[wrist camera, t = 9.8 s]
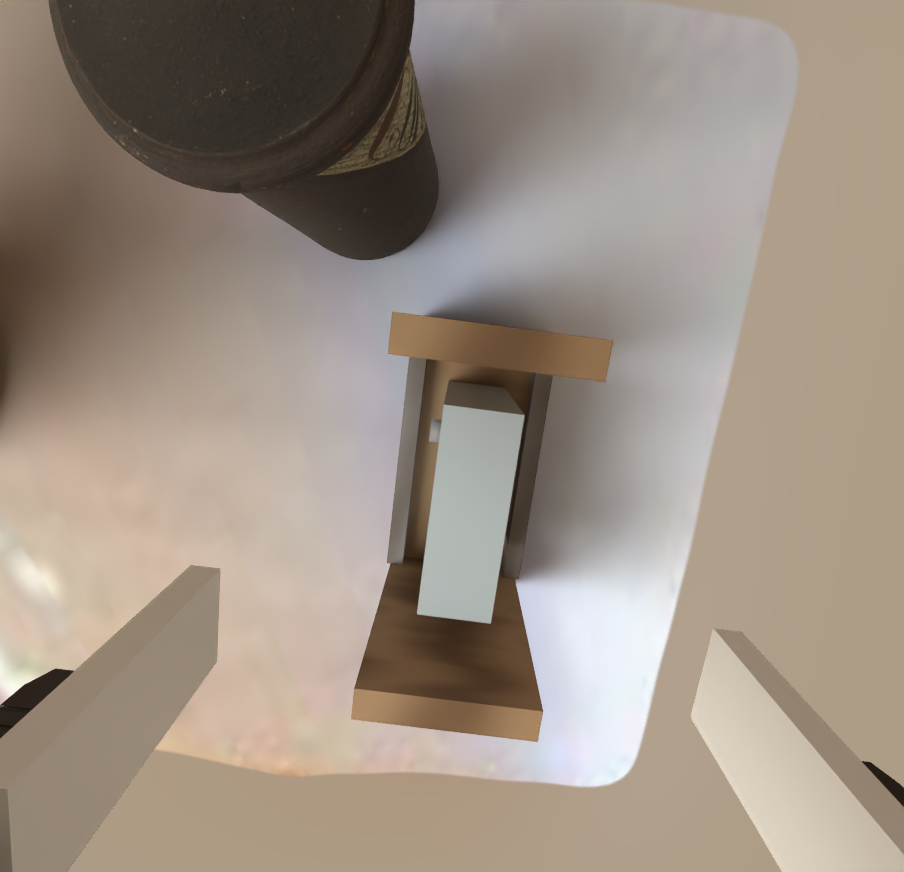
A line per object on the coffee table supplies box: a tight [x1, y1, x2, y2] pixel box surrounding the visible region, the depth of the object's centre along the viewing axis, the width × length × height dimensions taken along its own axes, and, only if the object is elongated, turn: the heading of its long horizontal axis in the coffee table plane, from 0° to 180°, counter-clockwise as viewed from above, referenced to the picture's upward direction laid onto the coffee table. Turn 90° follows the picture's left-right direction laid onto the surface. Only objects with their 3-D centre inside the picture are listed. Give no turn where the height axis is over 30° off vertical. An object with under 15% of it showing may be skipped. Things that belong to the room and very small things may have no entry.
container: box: [49, 0, 439, 260], centre depth 21 cm, size 9×9×20 cm
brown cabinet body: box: [351, 312, 613, 742], centre depth 27 cm, size 8×17×14 cm, turn 173°
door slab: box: [417, 381, 525, 624], centre depth 28 cm, size 4×10×10 cm, turn 173°
